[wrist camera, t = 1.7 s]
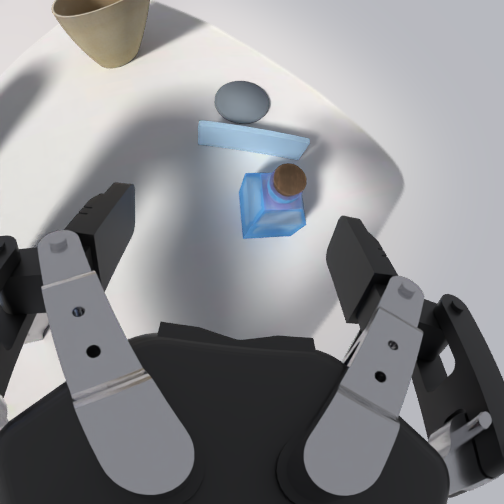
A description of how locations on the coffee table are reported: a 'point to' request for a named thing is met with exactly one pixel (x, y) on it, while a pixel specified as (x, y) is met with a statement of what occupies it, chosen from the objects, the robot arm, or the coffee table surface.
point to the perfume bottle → (272, 202)
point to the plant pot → (104, 27)
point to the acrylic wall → (251, 139)
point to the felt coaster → (241, 102)
